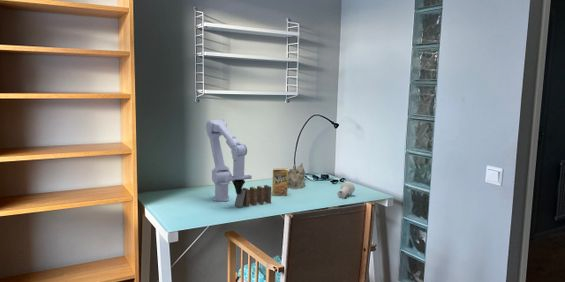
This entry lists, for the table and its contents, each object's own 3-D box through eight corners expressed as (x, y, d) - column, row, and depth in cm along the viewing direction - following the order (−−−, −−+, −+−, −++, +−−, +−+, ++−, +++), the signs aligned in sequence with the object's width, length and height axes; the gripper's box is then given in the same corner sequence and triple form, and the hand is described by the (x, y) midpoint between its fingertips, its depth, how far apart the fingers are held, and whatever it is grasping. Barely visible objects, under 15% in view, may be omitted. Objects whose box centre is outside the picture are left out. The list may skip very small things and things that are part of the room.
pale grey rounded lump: (356, 193, 252) (353, 180, 250) (348, 201, 243) (346, 188, 241) (344, 193, 256) (341, 181, 255) (336, 201, 247) (333, 188, 245)
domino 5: (268, 203, 228) (268, 187, 227) (263, 201, 233) (264, 185, 231) (270, 203, 229) (271, 187, 228) (266, 200, 233) (266, 184, 232)
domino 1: (239, 207, 218) (243, 190, 218) (234, 204, 222) (238, 188, 222) (241, 207, 219) (245, 190, 219) (237, 205, 223) (240, 188, 223)
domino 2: (246, 206, 221) (247, 190, 220) (241, 204, 225) (242, 187, 224) (249, 206, 222) (249, 189, 221) (244, 204, 226) (245, 187, 225)
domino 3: (254, 205, 223) (254, 189, 222) (249, 203, 228) (249, 187, 226) (256, 205, 224) (257, 188, 223) (251, 202, 228) (252, 186, 227)
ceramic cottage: (292, 181, 282) (292, 159, 278) (310, 187, 270) (311, 164, 267) (275, 185, 271) (275, 163, 268) (293, 192, 259) (293, 168, 256)
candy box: (272, 195, 245) (273, 169, 243) (272, 193, 249) (272, 167, 247) (287, 195, 245) (288, 169, 243) (287, 193, 250) (288, 168, 247)
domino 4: (261, 204, 226) (261, 188, 225) (256, 202, 230) (257, 186, 229) (263, 204, 227) (264, 187, 226) (259, 201, 231) (259, 185, 230)
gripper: (229, 170, 211) (229, 197, 213) (254, 168, 219) (254, 193, 221) (223, 168, 216) (222, 193, 218) (248, 165, 224) (247, 190, 226)
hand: (238, 193), depth 220 cm, fingers closed
